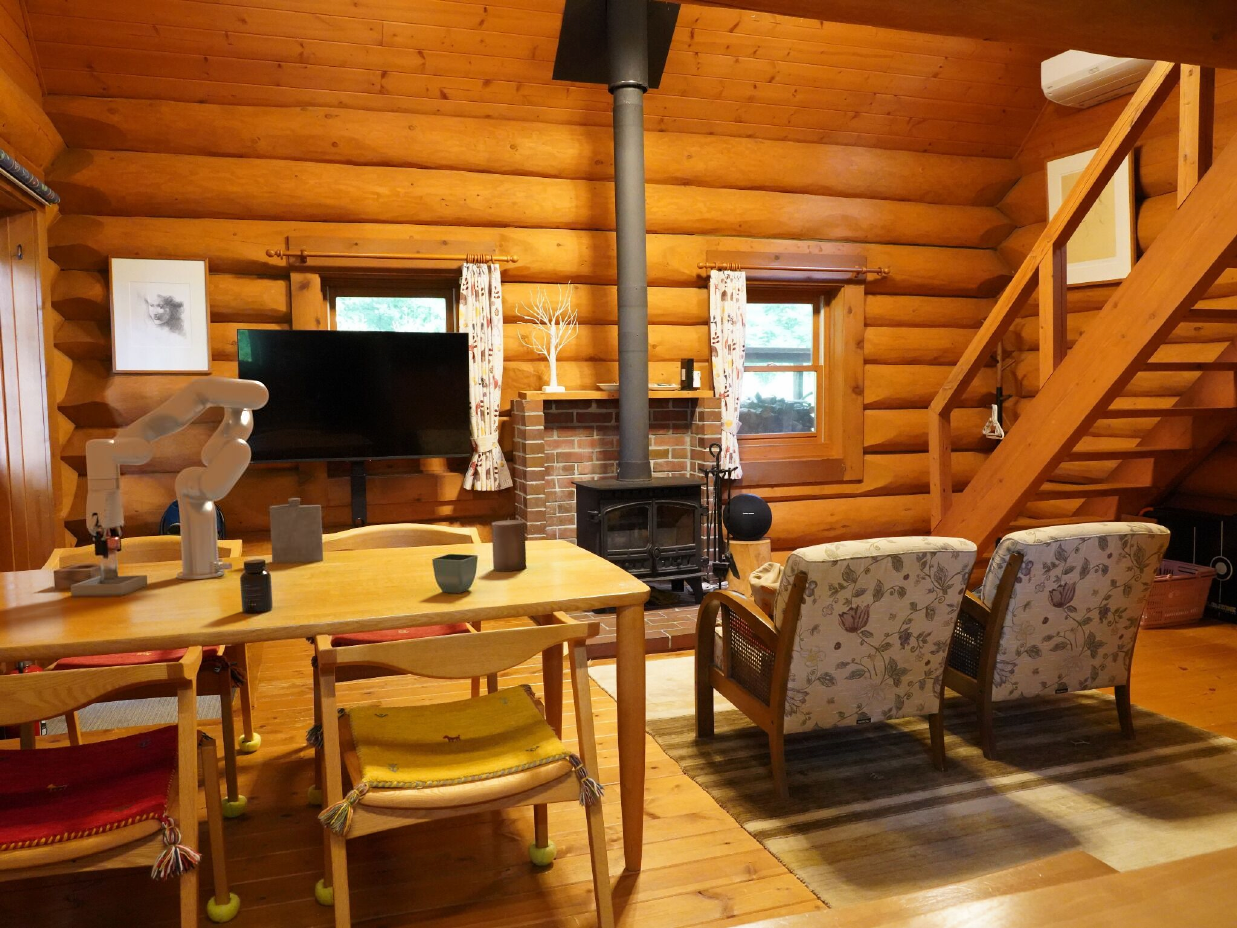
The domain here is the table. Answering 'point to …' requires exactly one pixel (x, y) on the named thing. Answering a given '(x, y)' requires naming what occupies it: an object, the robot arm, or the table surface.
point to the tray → (108, 586)
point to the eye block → (75, 575)
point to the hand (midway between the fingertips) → (108, 552)
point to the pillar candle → (509, 545)
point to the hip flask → (296, 533)
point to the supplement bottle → (256, 587)
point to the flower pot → (455, 572)
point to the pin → (110, 560)
